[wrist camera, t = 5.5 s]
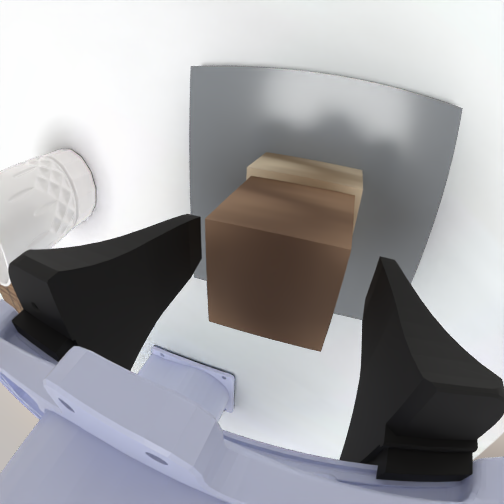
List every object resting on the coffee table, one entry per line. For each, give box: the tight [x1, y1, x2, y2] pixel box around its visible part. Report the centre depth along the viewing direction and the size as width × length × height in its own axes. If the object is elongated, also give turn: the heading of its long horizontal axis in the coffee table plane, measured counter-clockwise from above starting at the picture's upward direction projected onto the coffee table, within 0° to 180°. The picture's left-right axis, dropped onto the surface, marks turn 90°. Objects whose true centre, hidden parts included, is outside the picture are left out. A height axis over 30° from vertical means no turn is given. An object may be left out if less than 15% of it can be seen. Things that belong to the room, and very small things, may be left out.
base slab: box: [189, 66, 462, 320], centre depth 17 cm, size 14×14×1 cm
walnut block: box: [205, 176, 355, 352], centre depth 12 cm, size 4×4×4 cm
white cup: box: [0, 149, 96, 287], centre depth 19 cm, size 8×8×10 cm
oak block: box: [246, 152, 363, 231], centre depth 15 cm, size 5×5×3 cm
